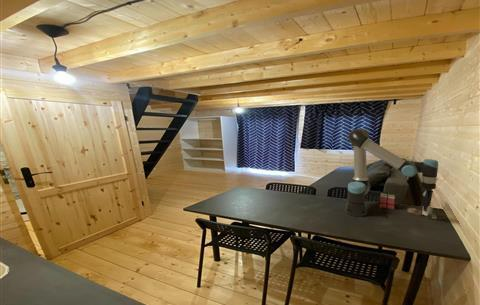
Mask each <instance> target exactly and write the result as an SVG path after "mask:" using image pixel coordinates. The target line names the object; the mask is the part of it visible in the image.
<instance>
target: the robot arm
mask: <svg viewBox="0 0 480 305" xmlns="http://www.w3.org/2000/svg"><path fill="white" fill-rule="evenodd" d="M347 138H348V141H349V142H350V144H351V147H352V148H353V163H354V166H353V169H354V170H353V171H354V176H353V177H352V181H351V182H349V183H348V184H347V201H346V205H345V206H344V207H345V208H344V212H345V213H346V214H347V215H349V216H354V217H361V218H362V217H366V216H367V214H368V211H367V208H366V205H365V201H366V200H365V199H366V198H365V197H366V195H367V194H368V193H369V192H370V190H371V184H370V178H368V177H367V152H368V153H369V154H371V155H373V156H374V157H376V158H378V159H379V160H382V161H383V162H384V163H386V164H388V165H389V166H391V167H392V168H394V169H396V170H397V171H399V172H401V174H402V175H403V176H404V177H407V178H412V177H414V176H416V174H417V173H419V174H421V179H420V181H421V182H420V187H421V188H422V189H423V190H422V193H421V206H422V211H423V212H422V214H423V215H424V216H427V217H428V216H429V215H428V211H429V207H431V205H432V204H431V203H432V197H433V192H434V190H435V189H436V188H437V181H438V180H439V179H438V173H439V172H438V170H439V161H438V160H437V159H427V158H425V159H423V161H412V160H405V159H403V158H402V157H399V156H398V155H396V154H395V153H393V152H391V151H389V150H388V149H386V148H385V147H383V146H381V145H380V144H377V143H376V142H375V141H372V140H371V139H370V132H369V131H368V130H367V129H365V128H356V129H353V130H351V131H350V132H349V133H348V136H347ZM423 215H422V216H423Z"/></svg>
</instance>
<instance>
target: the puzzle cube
mask: <svg viewBox="0 0 480 305" xmlns="http://www.w3.org/2000/svg"><path fill="white" fill-rule="evenodd" d="M378 203H379V204H378V208H379V210H380V209H381V210H383V209H384V208H385V209H392V210H395V207H396V206H395V205H396V195H395V194H389V193H388V194H387V193H382V192H381V193H380V195H379V202H378Z"/></svg>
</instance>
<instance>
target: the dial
mask: <svg viewBox="0 0 480 305" xmlns="http://www.w3.org/2000/svg"><path fill="white" fill-rule="evenodd" d="M433 208H434V207H431V206H429V211H428V216H430V217H432V215H433V210H434V209H433ZM406 210H407V211H406V212H407V213H408V214H410V215H413V216H418V217H419V216H420V217H421V216H423V214H422V212H423V209H422V210H421V209H419V208H415V207H408V208H407V209H406Z"/></svg>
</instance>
